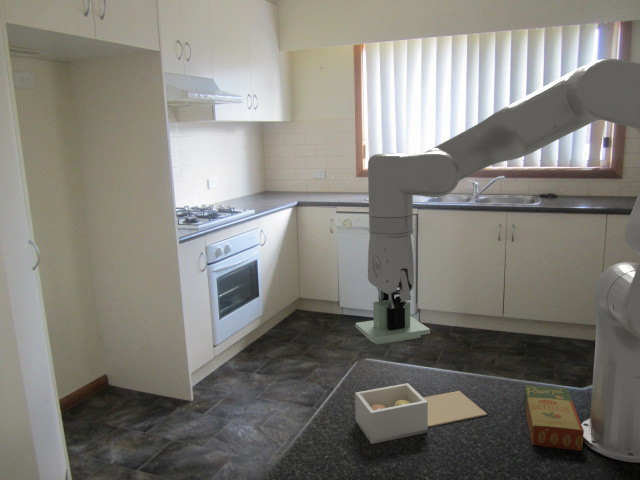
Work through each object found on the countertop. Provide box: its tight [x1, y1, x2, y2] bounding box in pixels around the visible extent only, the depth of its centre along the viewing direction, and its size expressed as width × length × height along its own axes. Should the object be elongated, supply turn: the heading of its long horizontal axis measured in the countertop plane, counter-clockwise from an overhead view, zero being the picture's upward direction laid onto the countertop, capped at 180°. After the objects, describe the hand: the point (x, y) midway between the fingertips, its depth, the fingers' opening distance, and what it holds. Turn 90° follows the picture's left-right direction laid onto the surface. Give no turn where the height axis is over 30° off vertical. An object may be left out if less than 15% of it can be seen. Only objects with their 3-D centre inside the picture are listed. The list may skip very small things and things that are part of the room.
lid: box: [354, 300, 431, 345], centre depth 95 cm, size 11×8×6 cm
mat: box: [422, 390, 488, 428], centre depth 105 cm, size 13×10×1 cm
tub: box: [354, 382, 429, 445], centre depth 98 cm, size 11×8×6 cm
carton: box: [523, 384, 584, 452], centre depth 98 cm, size 8×16×4 cm, turn 164°
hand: (392, 325), depth 95 cm, fingers closed on lid, 2 cm apart
